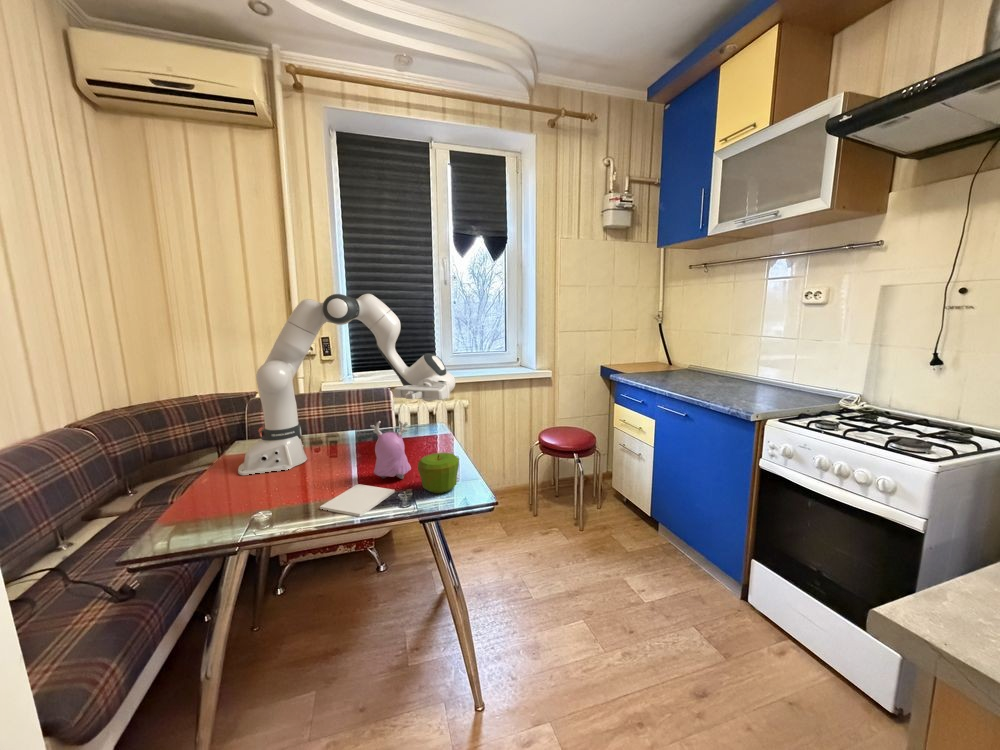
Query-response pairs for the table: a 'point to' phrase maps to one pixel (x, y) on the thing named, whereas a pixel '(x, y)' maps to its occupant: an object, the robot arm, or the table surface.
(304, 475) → the table surface
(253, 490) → the table surface
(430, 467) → the apple
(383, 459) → the toy character
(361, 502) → the mat
